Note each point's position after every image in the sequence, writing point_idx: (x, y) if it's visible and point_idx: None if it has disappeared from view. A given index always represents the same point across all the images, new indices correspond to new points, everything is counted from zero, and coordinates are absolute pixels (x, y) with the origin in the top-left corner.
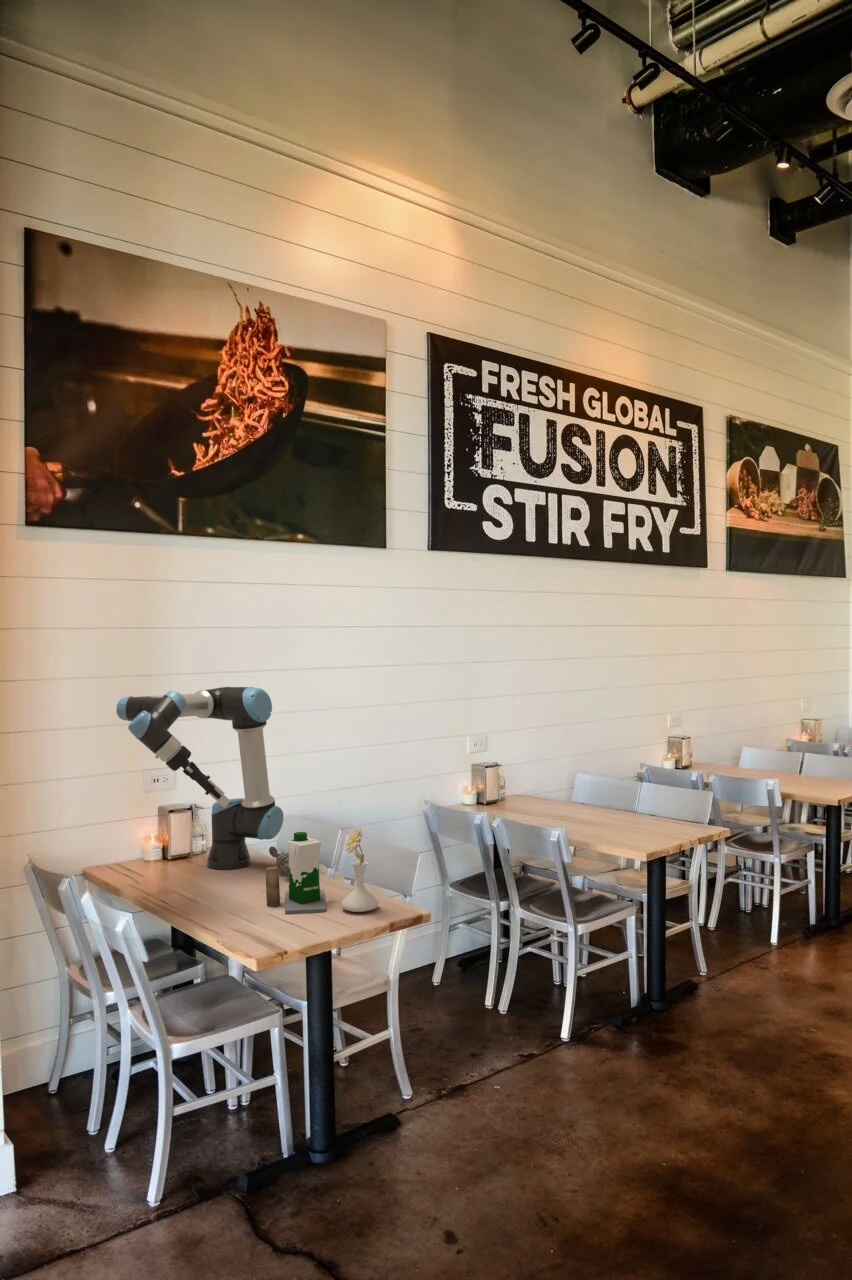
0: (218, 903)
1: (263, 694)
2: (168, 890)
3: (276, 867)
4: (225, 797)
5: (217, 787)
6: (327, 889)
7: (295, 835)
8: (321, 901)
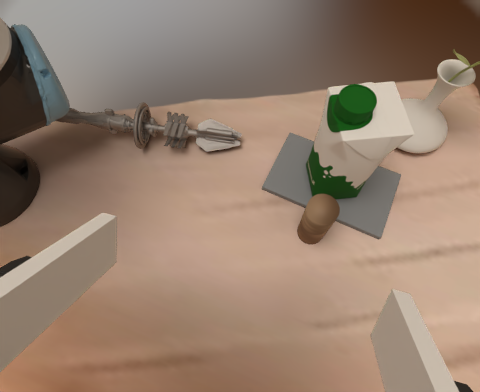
0: (237, 319)
1: None
2: (66, 380)
3: (321, 197)
4: (424, 334)
5: (72, 252)
6: (272, 122)
7: (364, 115)
8: None
